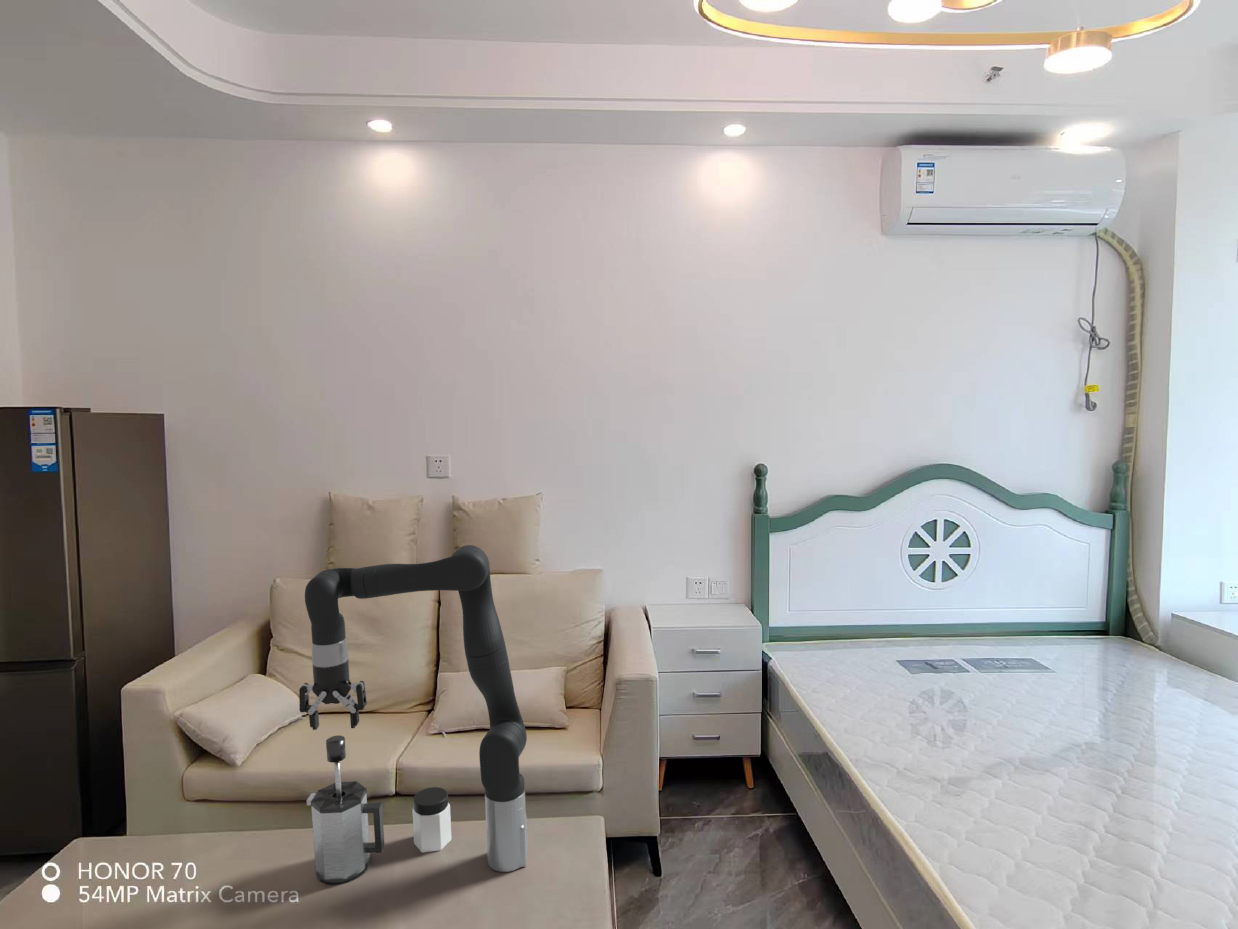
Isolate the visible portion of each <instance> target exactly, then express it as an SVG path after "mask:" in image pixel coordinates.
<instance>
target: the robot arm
mask: <svg viewBox="0 0 1238 929" xmlns="http://www.w3.org/2000/svg"><path fill="white" fill-rule="evenodd" d="M490 568H491V567H490V561H489V557H488V555H487V554H486V553H485V551H484V550H482V549H481V548H480V547H478V546H476V545H473V544H467V545H463V546H461V547H459V548H457V549H456V550H455V551H454V552H453V554H452V555H451V556H448V557H445V558H442V559H438V560H435V561H429V562H424V563H423V562H422V563H384V564H376V565H370V566H363V567H357V568H355V567H354V568H353V567H337V568H336V567H335V568H329V569H325V570H321V571H320V572H319V573H317V574H316V575H315V576H314V577H313V578H311V579H310V580H309V582H307V584H306V586H305V589H304V603H305V608H306V611H307V615H308V618H309V621H310V625H311V626H310V629H311V631H310V632H311V644H312V646H311V664H312V676H313V684H309V682H304V683H303V684H302V685H301V686H300V687H299V690H298V692H299V693H298V694H299V699H298V700H299V712H300V713H302V714H303V713H306V714H308V717H309V726H310V728H312V731H316V730H317V729H318V728H319V727H320V720H319V718H320V717H319V710H318V708H319V707H320V705H321V703H323V704H324V705H330V704H335V705H336V704H337V705H338V704H341V705H342V706H343V707H345V708H346V709H347V710H348V711H349V712H350V713H349V717H350V719H349V720H350V729H355V728H356V727H357V726H358V724H359V722H360V711H363V710H365V707H366V706H367V705H368V701H367V693H366V686H365V682H364V681H363V680H359V682H353V683H352V682H351V680H350V667H349V666H350V665H349V652H348V650H349V649H348V644H347V636H346V625H345V624H346V623H345V617H344V616H343V614H342V613H340V610H339V609H340V608H339V599H340V598H349V597H355V598H356V599H359V600H360V599H361V600H364V599H372V598H379V597H387V596H393V595H399V594H407V593H408V594H409V593H416V592H417V593H418V592H426V591H427V592H429V591H452V592H453V591H454V592H455V591H456V592H457V591H458V595H459V599H460V604H461V608H462V633H463V634H462V635H463V647H464V652H465V658H466V663H467V668H468V672H469V675H470V678H471V680H472V682H473V683H474V684H475V686H476V688H477V689H478V691H479V692H480V693H481V694H482V696H483V698H484V700H485V702H486V707H487V713H488V718H489V730H488V731H487V732H486V734H485V735H484V737H483V738H482V739H481V742H480V745H479V752H478V754H479V768H480V779H481V784H482V786H483V788H484V803H485V807H484V808H485V827H486V828H485V829H486V833H485V834H486V856H487V865H488V866H489V868H490V869H491V870H493V871H495V872H499V873H506V872H507V873H508V872H509V873H510V872H513V871H515V870H518V869H521V868H525V867H526V866H527V862H528V852H529V846H528V844H529V843H528V840H529V839H528V814H527V813H526V790H525V789H526V786H525V776H524V775H523V774H522V773H520V760H519V758H520V756H521V754H522V753H523V751H524V750H525V747H526V744H527V739H528V738H527V737H528V736H527V729H526V726H525V724H524V720H523V718H522V713H521V710H520V708H519V705H518V702H517V697H516V694H515V689H514V683H513V676H512V673H511V668H510V662H509V661H510V660H509V656H508V652H507V651H508V650H507V648H506V647H507V646H506V642H505V637H504V633H503V630H502V626H501V622H500V619H499V616H498V612H497V610H496V607H495V606H496V605H495V601H494V596H493V591H492V582H491V580H492V578H491V572H490V571H491V569H490ZM351 690H352V691H353V693H354V694H356V699H357V700H355V698H354V696H353V695H352V694H351V693H350V692H351ZM311 692H313V694H314V695H315V696H316V697H317V698H316V699H315V700H314V702H313V704H310V694H311Z"/></svg>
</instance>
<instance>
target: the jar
mask: <svg viewBox="0 0 1238 929" xmlns="http://www.w3.org/2000/svg"><path fill="white" fill-rule="evenodd" d="M411 811H412V826H413V827H412V828H413V844H414V845H415V846H416V847H417V849H418V850H419V851H420V852H421V853H430V852H439V851H442V850H443V849H444V848H445V847H446V846H447V845H448V844H449V843H450V842H451V840H452V821H451V820H452V817H451V804H450V803H449V794H448V791H447V790H446V789H445V788H442V787H437V786H432V787H427V788H424V789H422V790H420V791H418V792H417V793H416V794H415V795H414V796H413V807H412V810H411Z"/></svg>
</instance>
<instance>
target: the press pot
mask: <svg viewBox="0 0 1238 929" xmlns="http://www.w3.org/2000/svg"><path fill="white" fill-rule="evenodd" d="M341 790H342V797H341V798H336V784H335V782H334V783H332V784H330V785H326V786H325V787H322V788H320V789H318V790H317V791H316V792H311V793H310V795H309V796H308V798H307V799H306V806H311V821H312V835H313V836H312V837H313V848H314V850H313V851H314V860H315V861H314V863H315V872H316V878H317V879H318V880H319V882H321V883H322V884H325V885H333V886H334V885H343V884H347V883H350V882H351V881H354V880H356V879H358V878H359V877H361V876H362V875H363V874H365V873H366V872H367V871H368V869H369V868H370V865H371V854H374V853H376V854H381V853H383V851H384V848H385V832H384V831H385V830H384V813H383V802H380V801H379V802H372V803H371V802H370V803H369V802H368V800H367V799H368V795H367V794H368V793H367V790H368V789H367V787H365V786H364V785H362V784H361V783H359V782H358V781H356V780H354V781H353V780H351V781H341ZM368 814H373V831H374V842H370V831H369V830H370V829H369V815H368Z"/></svg>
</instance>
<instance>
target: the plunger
mask: <svg viewBox="0 0 1238 929" xmlns="http://www.w3.org/2000/svg"><path fill="white" fill-rule="evenodd" d="M325 745H326V761H327V762H329V763H333V767H334V779H335V780H334V783H335V784H336V798H341V797H342V790H341V782H342V778H341V777H342V776H341V775H342V774H341V763H340V762H342V761H344V760H345V759H346V757H347V753H346V738H345V736H343V735H338V734H337V735H334V736H330V737H329V738H327V739H326V741H325Z"/></svg>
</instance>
